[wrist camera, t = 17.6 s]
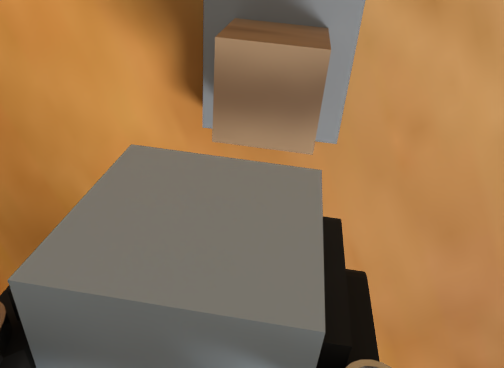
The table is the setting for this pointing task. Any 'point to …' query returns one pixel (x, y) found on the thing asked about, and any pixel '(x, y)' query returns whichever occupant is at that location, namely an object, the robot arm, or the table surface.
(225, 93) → the walnut cube
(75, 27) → the table surface
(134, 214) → the bluegrey block
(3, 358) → the robot arm
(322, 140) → the grey rectangular block
